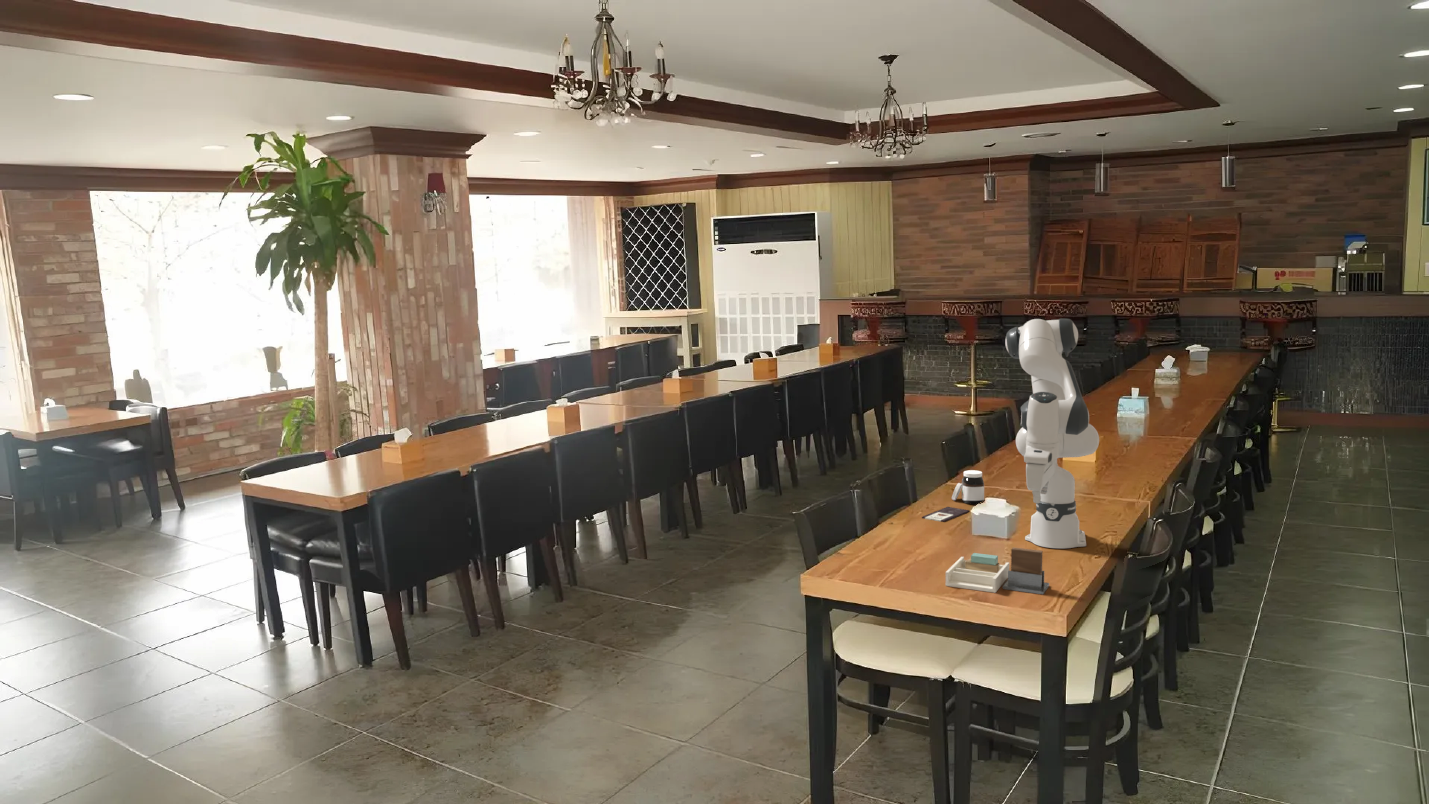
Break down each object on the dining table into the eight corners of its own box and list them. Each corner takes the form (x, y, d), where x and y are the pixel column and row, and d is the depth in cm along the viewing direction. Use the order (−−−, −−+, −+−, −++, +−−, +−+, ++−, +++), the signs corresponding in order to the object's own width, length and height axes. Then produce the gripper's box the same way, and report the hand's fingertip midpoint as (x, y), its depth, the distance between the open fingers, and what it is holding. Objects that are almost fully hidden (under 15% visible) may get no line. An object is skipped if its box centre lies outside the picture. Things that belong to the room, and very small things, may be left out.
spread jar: (986, 505, 361) (986, 474, 359) (955, 506, 361) (956, 475, 360) (978, 497, 373) (978, 468, 371) (948, 498, 373) (949, 468, 372)
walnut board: (1012, 581, 273) (1013, 547, 272) (1041, 585, 269) (1042, 550, 268) (1010, 583, 272) (1011, 549, 270) (1040, 587, 268) (1041, 552, 266)
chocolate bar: (969, 510, 352) (944, 520, 340) (969, 512, 353) (944, 523, 340) (947, 506, 359) (921, 516, 346) (947, 509, 359) (921, 519, 346)
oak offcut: (968, 568, 285) (968, 559, 284) (999, 572, 280) (999, 562, 280) (965, 571, 282) (965, 561, 282) (996, 575, 278) (996, 565, 277)
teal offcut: (973, 559, 284) (973, 552, 284) (997, 562, 280) (997, 555, 280) (970, 562, 281) (971, 555, 281) (995, 565, 278) (995, 558, 278)
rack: (961, 569, 288) (961, 556, 287) (1009, 575, 281) (1009, 562, 280) (945, 585, 274) (945, 572, 273) (995, 592, 267) (995, 578, 266)
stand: (1009, 580, 277) (1009, 564, 276) (1049, 585, 271) (1049, 569, 270) (1002, 588, 270) (1002, 572, 269) (1043, 594, 264) (1043, 577, 264)
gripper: (1038, 441, 282) (1036, 487, 284) (1022, 457, 264) (1021, 506, 267) (1060, 443, 278) (1059, 489, 281) (1046, 460, 261) (1044, 509, 264)
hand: (1040, 497), depth 274 cm, fingers open, 8 cm apart
